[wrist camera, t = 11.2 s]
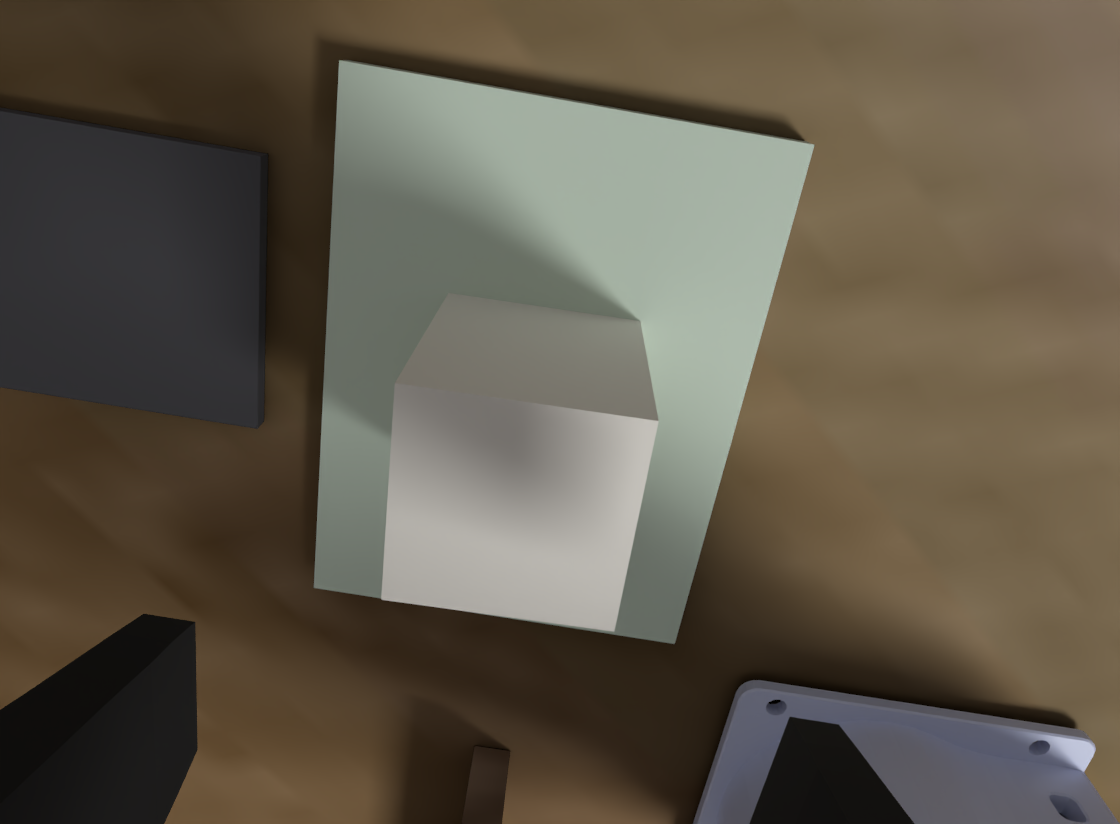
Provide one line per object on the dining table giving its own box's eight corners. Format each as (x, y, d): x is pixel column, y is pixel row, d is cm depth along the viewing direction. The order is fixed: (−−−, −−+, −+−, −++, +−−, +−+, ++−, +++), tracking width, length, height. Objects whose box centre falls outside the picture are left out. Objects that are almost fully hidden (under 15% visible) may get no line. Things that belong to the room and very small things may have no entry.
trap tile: (268, 154, 16) (260, 155, 16) (264, 421, 19) (257, 428, 18) (-35, 101, 16) (-49, 102, 16) (1, 378, 18) (-11, 385, 18)
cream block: (640, 321, 17) (658, 421, 12) (608, 487, 18) (614, 631, 14) (448, 293, 17) (394, 382, 12) (433, 463, 18) (381, 600, 14)
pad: (806, 141, 16) (814, 144, 15) (672, 628, 21) (674, 644, 20) (348, 59, 15) (339, 60, 15) (321, 573, 20) (314, 587, 20)
